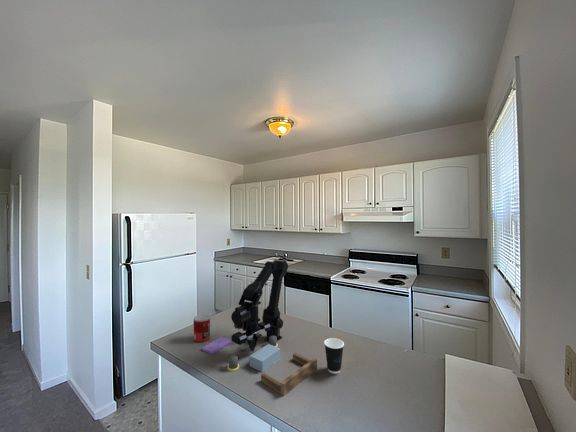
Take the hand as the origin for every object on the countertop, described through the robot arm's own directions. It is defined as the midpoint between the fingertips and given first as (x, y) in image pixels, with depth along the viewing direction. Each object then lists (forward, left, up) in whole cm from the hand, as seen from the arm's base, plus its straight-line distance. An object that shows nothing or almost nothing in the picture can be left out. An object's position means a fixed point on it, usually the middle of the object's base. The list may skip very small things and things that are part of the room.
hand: (252, 351), depth 113 cm
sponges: (+6, -18, -2) cm, 19 cm away
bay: (0, +22, -2) cm, 22 cm away
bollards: (0, +2, -2) cm, 2 cm away
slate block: (0, +9, -2) cm, 9 cm away
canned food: (+7, -30, -2) cm, 31 cm away
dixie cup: (-14, +34, -2) cm, 37 cm away
